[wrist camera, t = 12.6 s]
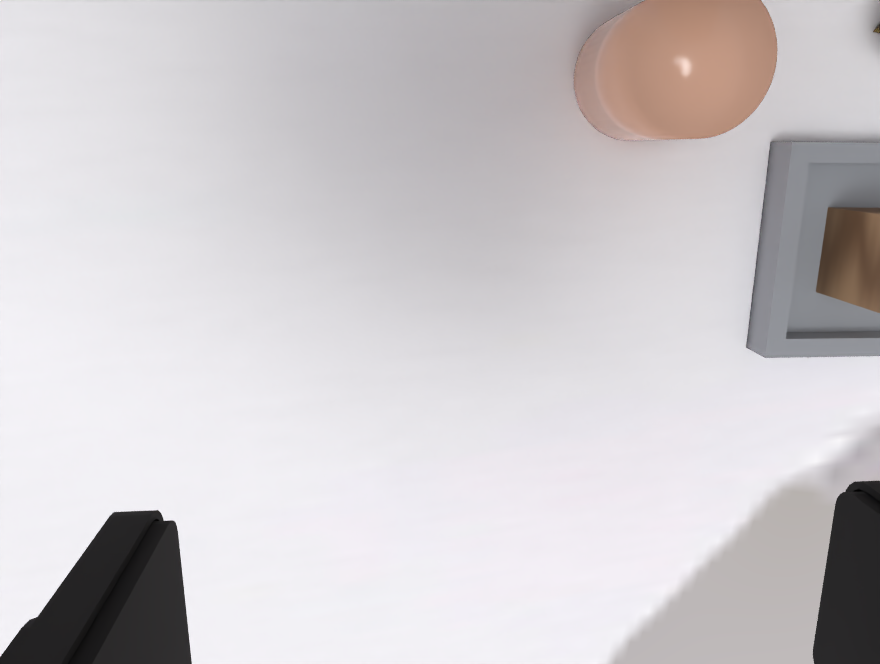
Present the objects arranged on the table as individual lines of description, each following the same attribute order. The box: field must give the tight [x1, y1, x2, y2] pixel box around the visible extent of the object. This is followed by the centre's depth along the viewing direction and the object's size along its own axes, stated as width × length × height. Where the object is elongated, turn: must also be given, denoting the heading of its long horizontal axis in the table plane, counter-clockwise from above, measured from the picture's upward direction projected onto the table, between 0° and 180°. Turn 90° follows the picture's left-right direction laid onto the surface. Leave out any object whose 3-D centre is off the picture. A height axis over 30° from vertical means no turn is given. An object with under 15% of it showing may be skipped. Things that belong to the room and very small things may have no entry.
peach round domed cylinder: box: [574, 0, 777, 141], centre depth 32 cm, size 6×6×8 cm
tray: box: [747, 142, 880, 358], centre depth 38 cm, size 11×11×2 cm
